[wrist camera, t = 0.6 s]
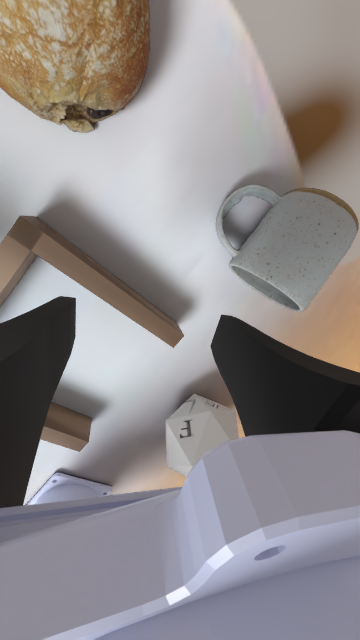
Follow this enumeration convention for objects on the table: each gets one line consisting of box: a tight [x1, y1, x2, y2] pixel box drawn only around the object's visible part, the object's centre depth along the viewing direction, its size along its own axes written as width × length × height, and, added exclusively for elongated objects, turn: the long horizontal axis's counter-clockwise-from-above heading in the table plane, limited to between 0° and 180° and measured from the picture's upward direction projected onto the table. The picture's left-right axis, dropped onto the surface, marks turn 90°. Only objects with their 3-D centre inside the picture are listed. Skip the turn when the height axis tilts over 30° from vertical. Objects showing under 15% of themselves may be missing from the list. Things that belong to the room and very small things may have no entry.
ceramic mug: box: [216, 185, 358, 312], centre depth 18 cm, size 10×8×7 cm
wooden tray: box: [0, 216, 184, 452], centre depth 16 cm, size 16×20×8 cm
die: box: [166, 393, 239, 477], centre depth 25 cm, size 8×9×10 cm
